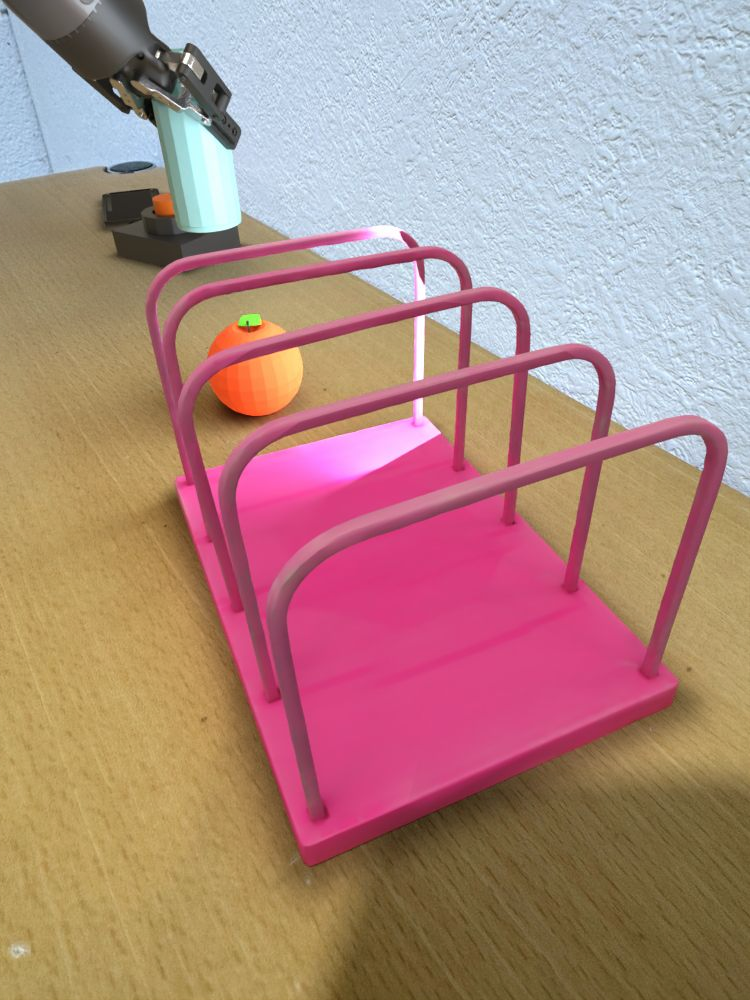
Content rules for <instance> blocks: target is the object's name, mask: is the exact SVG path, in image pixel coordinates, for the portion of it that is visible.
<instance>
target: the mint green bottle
mask: <svg viewBox="0 0 750 1000" xmlns="http://www.w3.org/2000/svg"><path fill="white" fill-rule="evenodd" d="M184 48H185V47H177V48H175V47H174V48H170V49H171V51H172V52H180V53H183V51H184ZM179 81H180V80H179V79H178V81H177V84H176V86H175V89H174V91H173V93H172V96H174V97H175V98H178V96H179V94H180V91H181V89H182V86H180V84H179ZM213 91H214V90H213ZM214 92H215V91H214ZM191 102H192V103H193V104H194V105H195V106H197V107H198V108H200V109H201V108H202V107H201V106H200V105H199V104H198V102H197V101H196V100H195V99H194V97H193V96H191ZM152 105H153V110H154V115H155V120H156V125H157V128H156V129H157V134H158V138H159V144H160V150H161V155H162V160H163V164H164V169H165V174H166V179H167V185H168V189H169V193H170V194H171V199H172V204H173V209H174V214H175V219H176V223H177V227H178V228H179V229H180V230H183V231H186V232H194V233H207V232H216V231H222V230H226V229H230V228H232V227H235V226H237V225H240V224H241V223H242V213H241V205H240V198H239V192H238V185H237V179H236V171H235V166H234V158H233V152H232V151H233V150H229V149H226V148H225V147H224V146H223V145H222V144H221V143H220V142H219V141H218V140H217V139H216V138H215V137H214V136H213V135H212V134H211V133H210V132H209V131H208V130H207V129H206V127H205V126H204V125H203V124H202V123H201V122H199V121H198V120H197V119H195V118H194V117H192V116H191V115H189V114H188V113H186V112H182V113H177V112H175V111H174V110H172V109H171V108H169V107H168V106H166V105H165V104H163V103H162V102H160V101H159V100H158V99H156V98H154V97H153V98H152Z"/></svg>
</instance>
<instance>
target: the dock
mask: <svg viewBox="0 0 750 1000" xmlns="http://www.w3.org/2000/svg"><path fill="white" fill-rule="evenodd" d="M141 216H142V220H140V221H137V222H132V223H130V224H129V225H126V226H124V227H121V228H118V229H115V230H111V234H112V239H113V241H114V246H115V249H116V254H117V257H119V258H123V259H127V260H132V261H136V262H141V263H145V264H150V265H153V266H157V267H162V268H165V267H166V266H167V265H169V264H171V263H172V262H174V261H176V260H179V259H182V258H185V257H189V256H194V255H200V254H205V253H211V252H216V251H222V250H228V249H234V248H240V247H242V246H241V240H240V233H239V226H238V225H239V224H238V225H237V226H235V227H232V228H230V229H226V230H222V231H216V232H207V233H194V232H186V231H183V230H180V229H179V228H178V227H177V223H176V219H175V215H168V216H160V215H155V210H154V206H151V207H148V208H145V209H144V210H143V211H142V212H141ZM195 269H196V268H194V269H190V270H186V271H183V273H188V272H190V271H192V270H195Z"/></svg>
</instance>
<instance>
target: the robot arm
mask: <svg viewBox="0 0 750 1000" xmlns="http://www.w3.org/2000/svg"><path fill="white" fill-rule="evenodd" d="M0 1H1V2H2V4H4V6H5V7H6V8H7V9H8V10H9V11H10V12H11V13H12V14H13V15H14V16H16V17H17V18H18V19H19V20H20V21H21V22H22V23H23V24H24V25H25V26H27V28H28V29H30V30H31V31H32V33H34V34H35V35H36V36H37V37H38V38H39V39H40V40H41V41H43V42H44V43H45V44H46V45H47V46H48V47H49V48H50V49H51V50H53V51H54V52H55V53H56V54H57V55H58V56H59V57H60V58H61V59H62V60H63V61H64V62H65V63H67V65H68V66H70V67H71V69H72V71H73V73H75V74H76V75H78V76H79V77H80V79H82V80H83V81H85V83H87V84H88V85H89V86H91V88H93V89H94V90H95V91H96V92H97V93H99V94H100V95H101V96H102V97H104V98H105V100H107V101H108V102H109V103H110V104H112V105H113V106H114V107H115V108H116V109H117V110H119V111H120V112H121V113H123V114H126V115H129V114H130V113H131V111H133V112H134V114H135V115H136V117H138V118H139V119H142V120H145V121H149V122H150V123H151V124H152V125H153V126H154V127H155V128H156V129H157V125H156V120H155V115H154V110H153V105H152V98H153V97H154V98H156V99H158V100H159V101H160V102H162V103H163V104H165V105H166V106H168V107H169V108H171V109H172V110H174V111H175V112H177V113H182V112H186V113H188V114H189V115H191V116H192V117H194V118H195V119H197V120H198V121H199V122H201V123H202V124H203V125H204V126H205V127H206V129H207V130H208V131H209V132H210V133H211V134H212V135H213V136H214V137H215V138H216V139H217V140H218V141H219V142H220V143H221V144H222V145H223V146H224V147H225V148H226V149H229V150H232V151H234V150H235V149H237V146H238V144H239V141H240V138H241V135H242V128H241V126H240V125H239V124H238V123H237V122H236V120H235V119H234V118H233V117H232V116H231V115H230V114H229V113H228V111H227V109H228V107H229V104H230V102H231V99H232V96H233V93H232V92H231V90H230V89H229V88H228V86H227V85H226V84H225V82H224V81H223V79H222V78H221V76H220V75H219V74H218V72H217V71H216V70H215V68H214V67H213V65H212V64H211V63H210V61H209V60H208V59H207V58H206V56H205V54H203V52H202V50H201V49H200V48H199V47H198V46H197V45H195V44H193V43H192V42H186V44H185V46H184V47H183V48H184V51H183V53H180V52H172V51H171V49H172V48H170V47H169V45H167V43H165V42H164V41H163V40H161V39H160V38H159V37H157V36H156V35H155V34H154V33H152V31H151V29H150V24H149V21H148V13H147V12H148V11H147V8H146V5H145V2H144V0H0ZM178 79H179V80H180V81H179V84H180V86H182V89H181V91H180V94H179V96H178V98H175V97H174V96H172V93H173V91H174V89H175V86H176V84H177V81H178ZM115 90H116V91H117V93H119V94H117V93H115ZM214 91H215V92H214ZM191 96H193V97H194V99H195V100H196V101H197V102H198V104H199V105H200V106H201V107H202V108H201V109H200V108H198V107H197V106H195V105H194V104H193V103H192V102H191Z"/></svg>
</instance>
